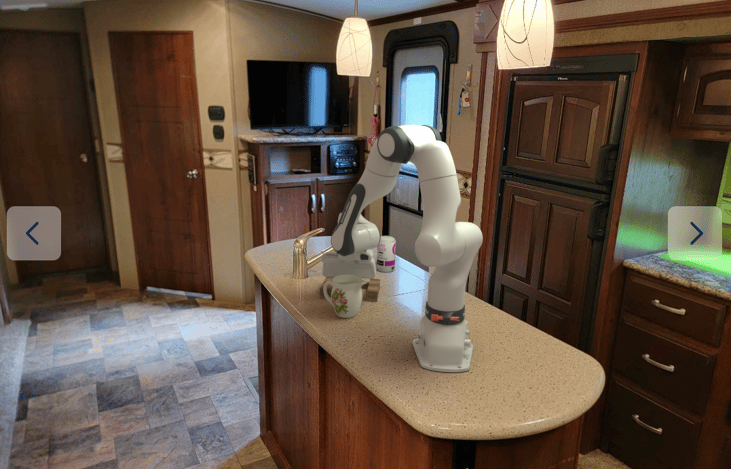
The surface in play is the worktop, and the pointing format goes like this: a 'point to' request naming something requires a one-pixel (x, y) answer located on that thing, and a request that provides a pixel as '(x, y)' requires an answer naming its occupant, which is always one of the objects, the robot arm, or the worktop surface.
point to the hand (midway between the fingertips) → (349, 288)
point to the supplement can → (386, 254)
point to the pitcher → (345, 294)
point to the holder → (371, 288)
